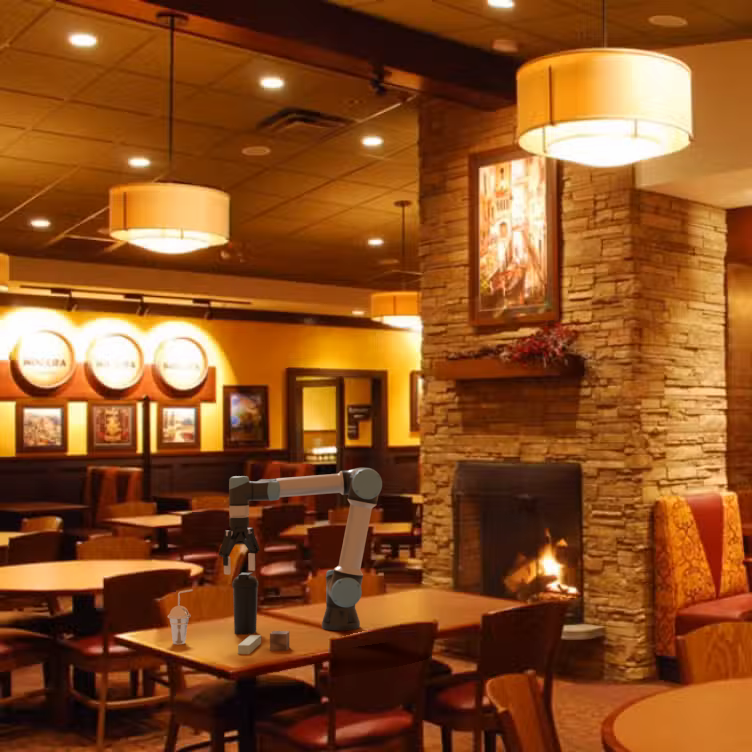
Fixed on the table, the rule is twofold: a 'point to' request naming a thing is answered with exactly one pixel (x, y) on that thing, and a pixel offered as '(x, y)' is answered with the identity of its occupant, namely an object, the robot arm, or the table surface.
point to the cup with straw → (179, 621)
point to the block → (279, 641)
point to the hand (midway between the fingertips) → (239, 572)
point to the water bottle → (245, 603)
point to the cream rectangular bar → (249, 644)
